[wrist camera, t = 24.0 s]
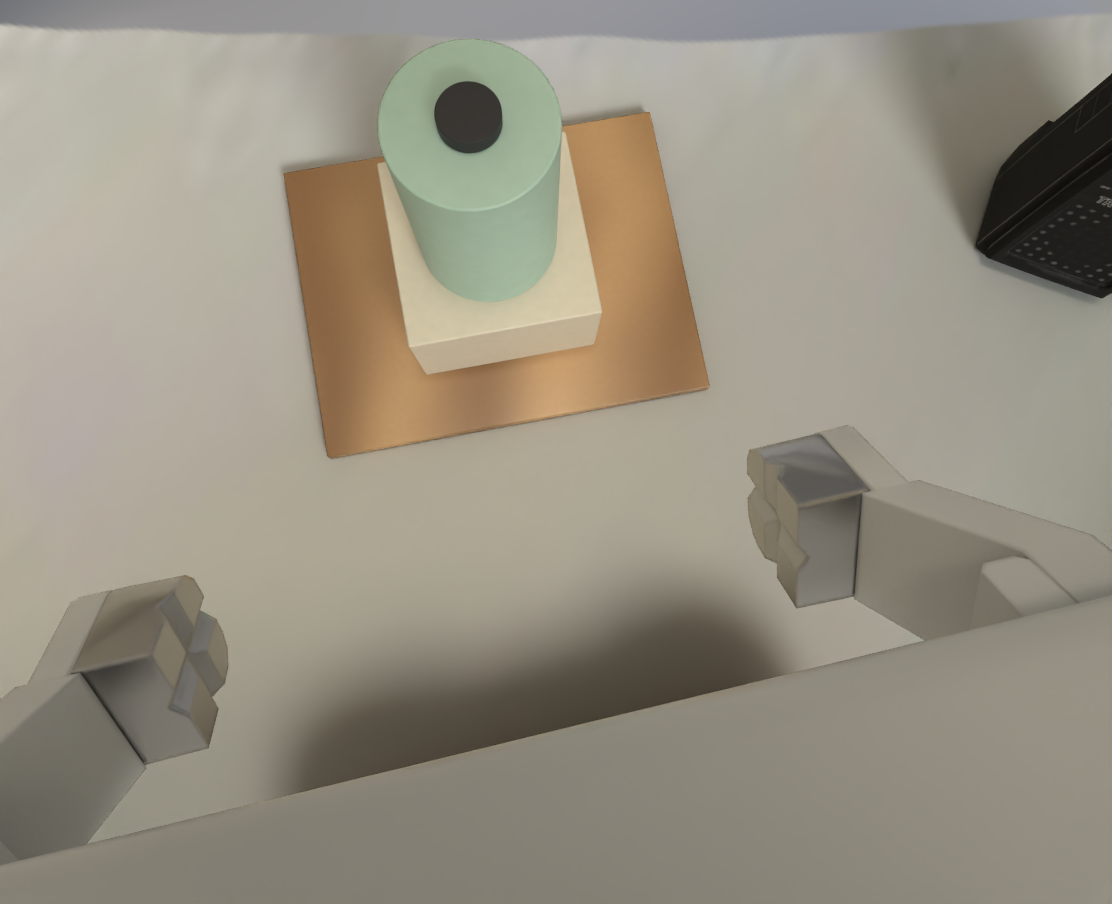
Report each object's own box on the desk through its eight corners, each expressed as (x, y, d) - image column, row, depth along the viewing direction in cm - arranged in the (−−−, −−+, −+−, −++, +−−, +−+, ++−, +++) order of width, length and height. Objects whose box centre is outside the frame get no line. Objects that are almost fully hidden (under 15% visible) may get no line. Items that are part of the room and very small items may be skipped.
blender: (426, 375, 37) (354, 263, 23) (398, 214, 38) (312, 10, 24) (594, 344, 37) (627, 215, 23) (562, 185, 38) (575, -32, 24)
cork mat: (330, 458, 37) (326, 457, 36) (287, 178, 38) (283, 172, 38) (707, 389, 37) (710, 386, 37) (648, 117, 39) (650, 110, 39)
